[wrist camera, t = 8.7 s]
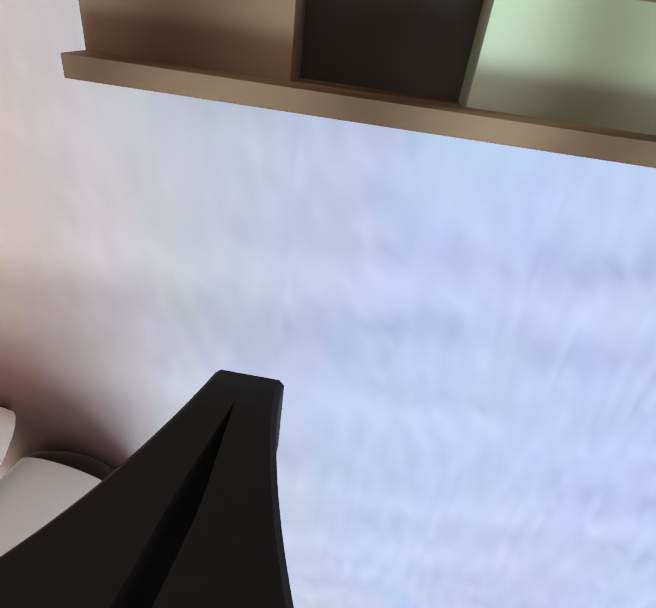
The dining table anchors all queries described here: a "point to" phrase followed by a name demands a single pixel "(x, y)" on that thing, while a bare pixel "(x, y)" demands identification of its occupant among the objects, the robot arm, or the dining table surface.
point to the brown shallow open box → (400, 64)
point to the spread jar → (40, 486)
